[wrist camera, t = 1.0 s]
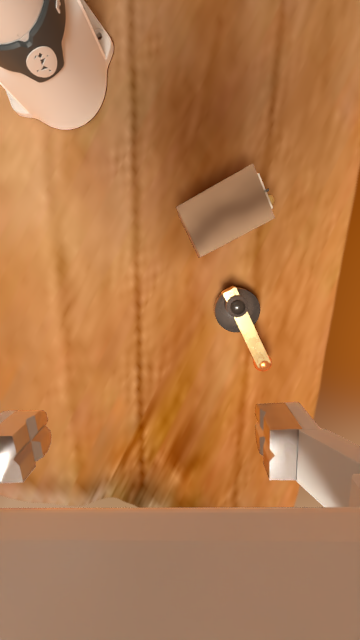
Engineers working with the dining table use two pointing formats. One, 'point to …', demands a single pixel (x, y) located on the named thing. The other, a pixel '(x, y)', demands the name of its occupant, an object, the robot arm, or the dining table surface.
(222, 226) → the brown box
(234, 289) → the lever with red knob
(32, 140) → the dining table surface
